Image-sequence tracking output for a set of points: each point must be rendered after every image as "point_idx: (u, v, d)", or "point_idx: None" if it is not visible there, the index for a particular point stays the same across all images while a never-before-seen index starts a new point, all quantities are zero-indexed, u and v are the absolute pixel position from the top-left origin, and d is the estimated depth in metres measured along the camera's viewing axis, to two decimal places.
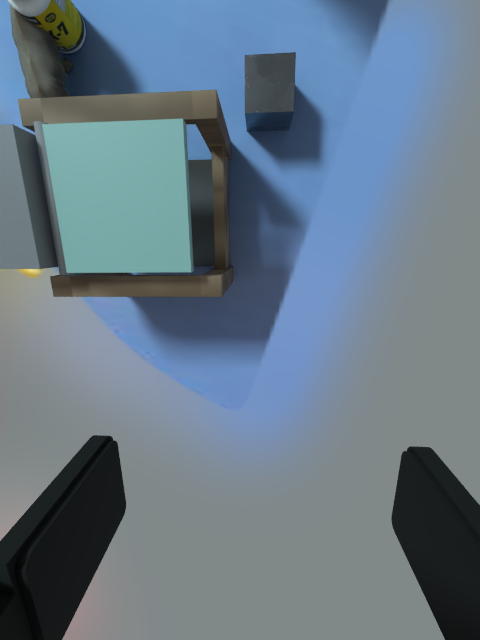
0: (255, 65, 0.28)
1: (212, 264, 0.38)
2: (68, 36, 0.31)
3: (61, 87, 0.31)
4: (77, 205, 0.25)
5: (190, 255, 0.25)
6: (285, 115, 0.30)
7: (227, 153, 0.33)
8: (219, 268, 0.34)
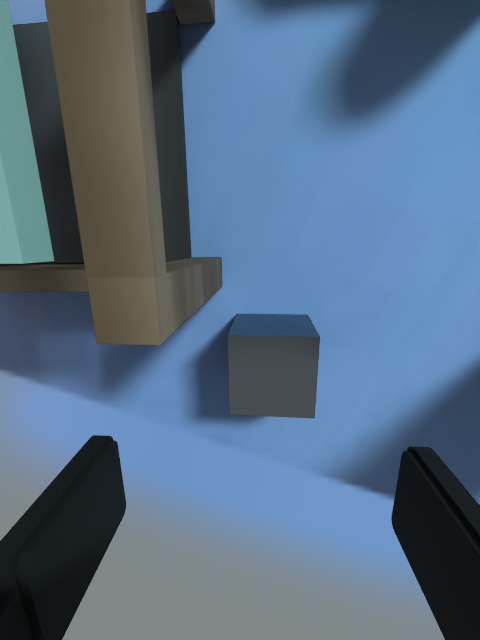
0: (301, 354, 0.16)
1: None
2: None
3: None
4: None
5: None
6: None
7: None
8: None
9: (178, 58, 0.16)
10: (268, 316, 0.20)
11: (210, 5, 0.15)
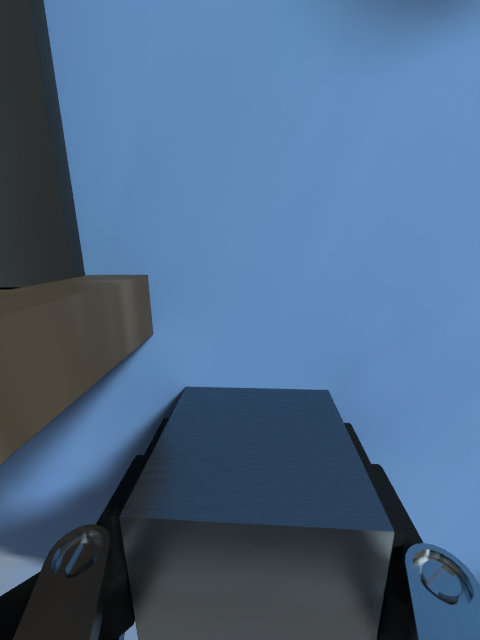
0: (337, 572, 0.05)
1: None
2: None
3: None
4: None
5: None
6: None
7: None
8: None
9: None
10: (248, 399, 0.09)
11: None
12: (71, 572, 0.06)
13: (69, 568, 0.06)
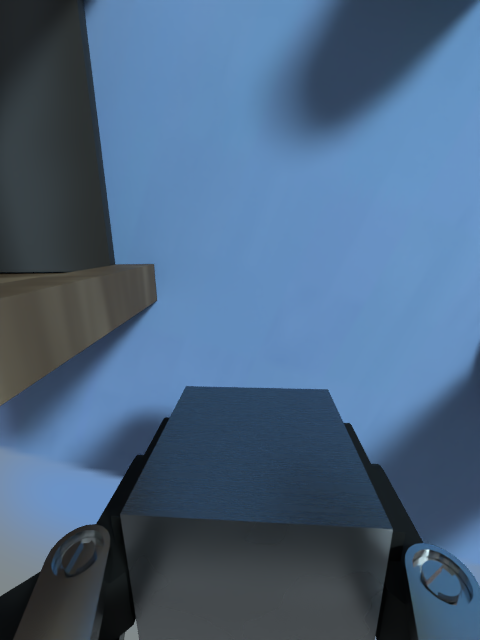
0: (336, 570, 0.05)
1: None
2: None
3: None
4: None
5: None
6: None
7: None
8: None
9: None
10: (248, 398, 0.09)
11: None
12: (71, 572, 0.06)
13: (70, 567, 0.06)
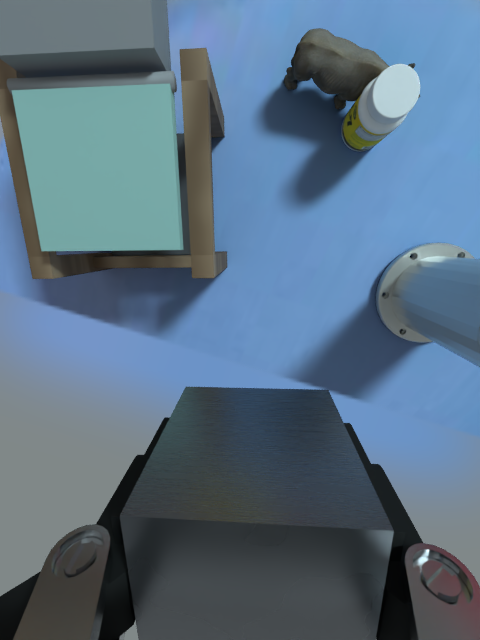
0: (337, 571, 0.05)
1: None
2: (346, 124, 0.30)
3: (307, 75, 0.28)
4: (90, 118, 0.21)
5: None
6: None
7: None
8: (94, 261, 0.33)
9: None
10: (248, 399, 0.09)
11: (222, 133, 0.32)
12: (70, 573, 0.06)
13: (70, 568, 0.06)
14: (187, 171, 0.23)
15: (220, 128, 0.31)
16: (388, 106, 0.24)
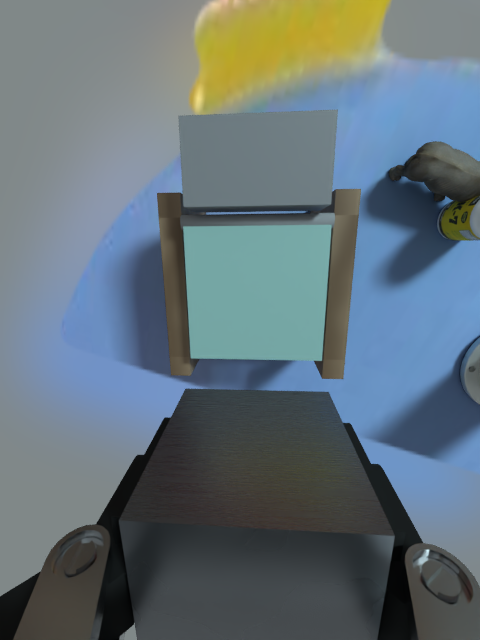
0: (337, 576, 0.05)
1: None
2: (447, 219, 0.32)
3: (422, 180, 0.30)
4: (253, 250, 0.24)
5: (206, 357, 0.27)
6: None
7: None
8: None
9: None
10: (248, 401, 0.09)
11: None
12: (70, 572, 0.06)
13: (69, 568, 0.06)
14: (329, 289, 0.25)
15: None
16: None
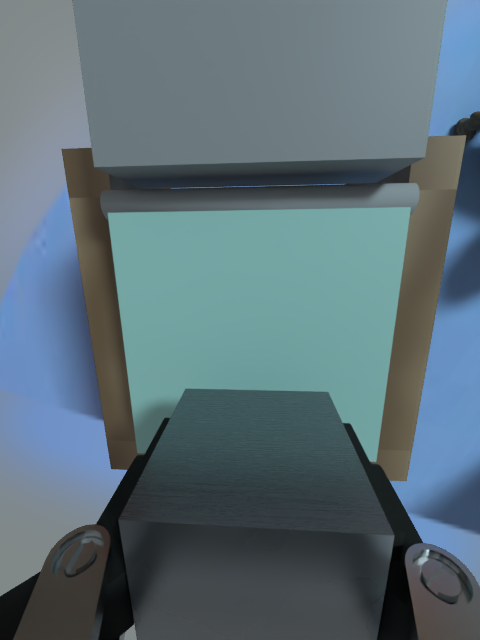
0: (337, 576, 0.05)
1: None
2: None
3: None
4: (248, 261, 0.12)
5: None
6: None
7: None
8: None
9: None
10: (248, 400, 0.09)
11: None
12: (70, 573, 0.06)
13: (69, 568, 0.06)
14: None
15: None
16: None
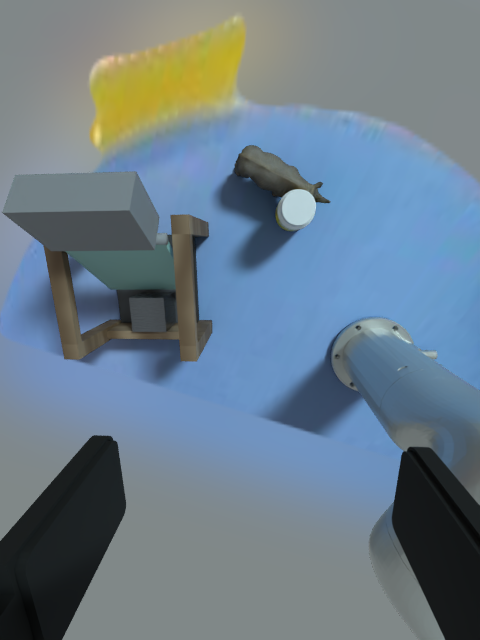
0: None
1: (121, 316, 0.46)
2: None
3: (245, 176, 0.36)
4: (117, 255, 0.33)
5: (120, 288, 0.42)
6: None
7: None
8: (107, 334, 0.42)
9: (194, 249, 0.43)
10: (145, 302, 0.40)
11: (207, 236, 0.41)
12: None
13: None
14: (176, 291, 0.33)
15: (204, 236, 0.40)
16: (293, 217, 0.33)
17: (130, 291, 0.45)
